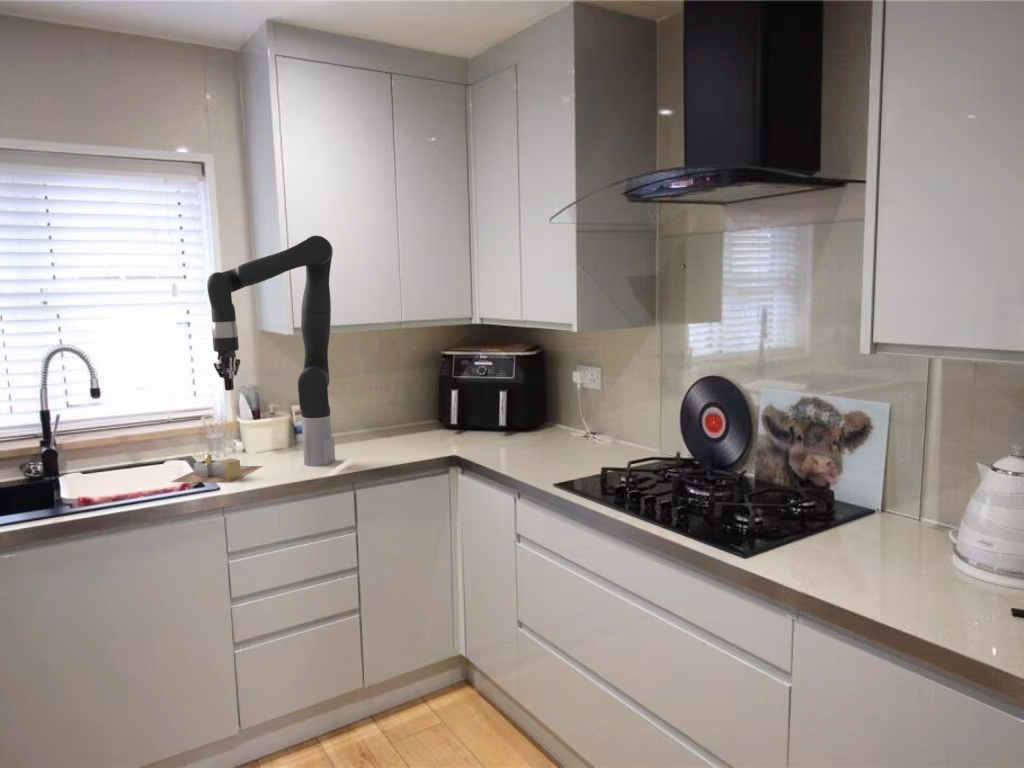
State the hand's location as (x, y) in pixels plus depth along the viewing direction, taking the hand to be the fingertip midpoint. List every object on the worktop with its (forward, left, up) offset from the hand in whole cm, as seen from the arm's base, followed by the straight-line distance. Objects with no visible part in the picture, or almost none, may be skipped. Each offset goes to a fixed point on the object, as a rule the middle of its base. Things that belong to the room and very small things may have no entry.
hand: (229, 390), depth 231 cm
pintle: (+5, +7, -26) cm, 27 cm away
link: (+1, +9, -26) cm, 27 cm away
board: (+2, +7, -27) cm, 28 cm away
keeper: (-5, +12, -26) cm, 29 cm away
